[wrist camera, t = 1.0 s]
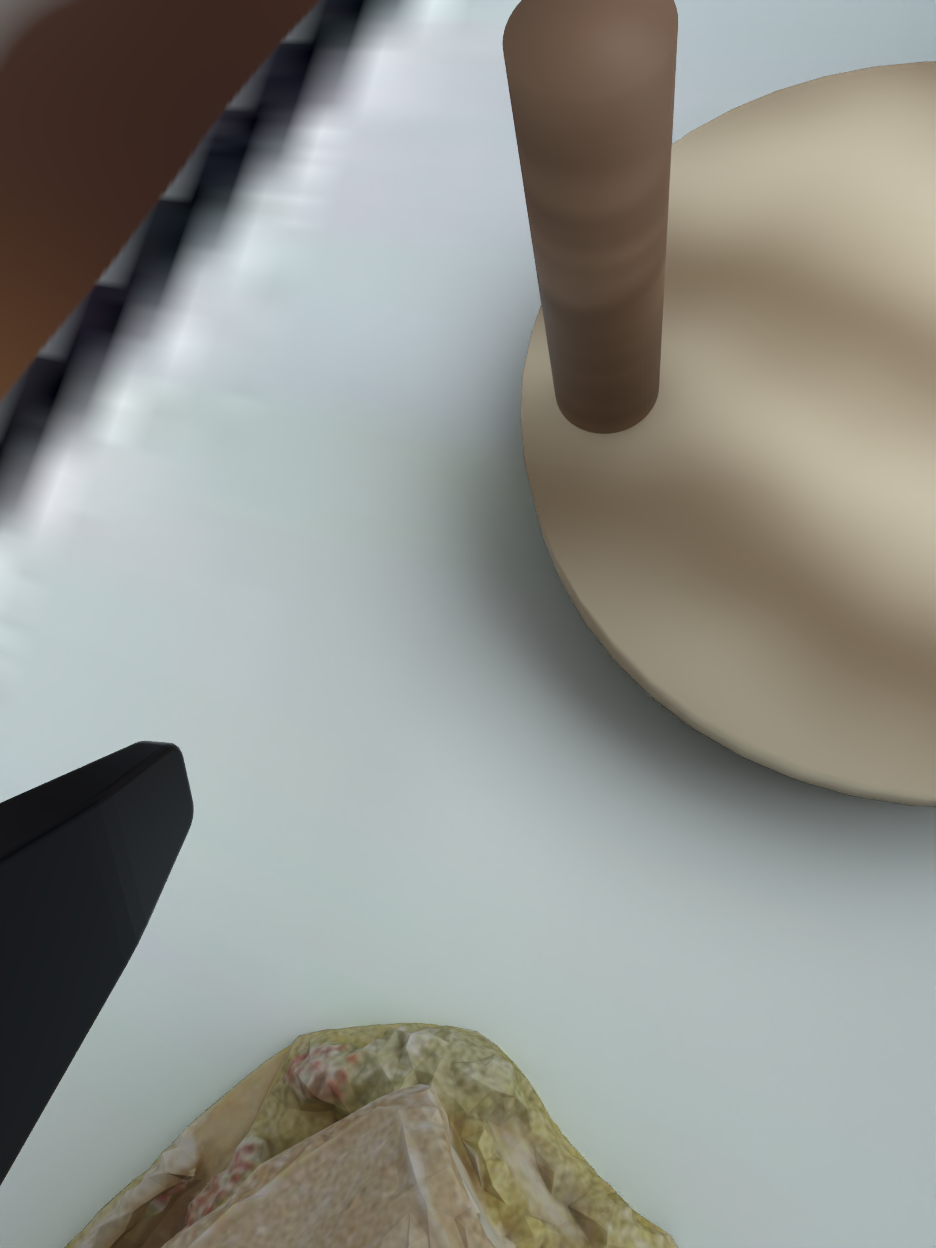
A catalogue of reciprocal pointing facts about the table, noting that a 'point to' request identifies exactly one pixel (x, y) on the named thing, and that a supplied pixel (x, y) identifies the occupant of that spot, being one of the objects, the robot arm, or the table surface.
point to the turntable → (738, 390)
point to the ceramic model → (374, 1157)
